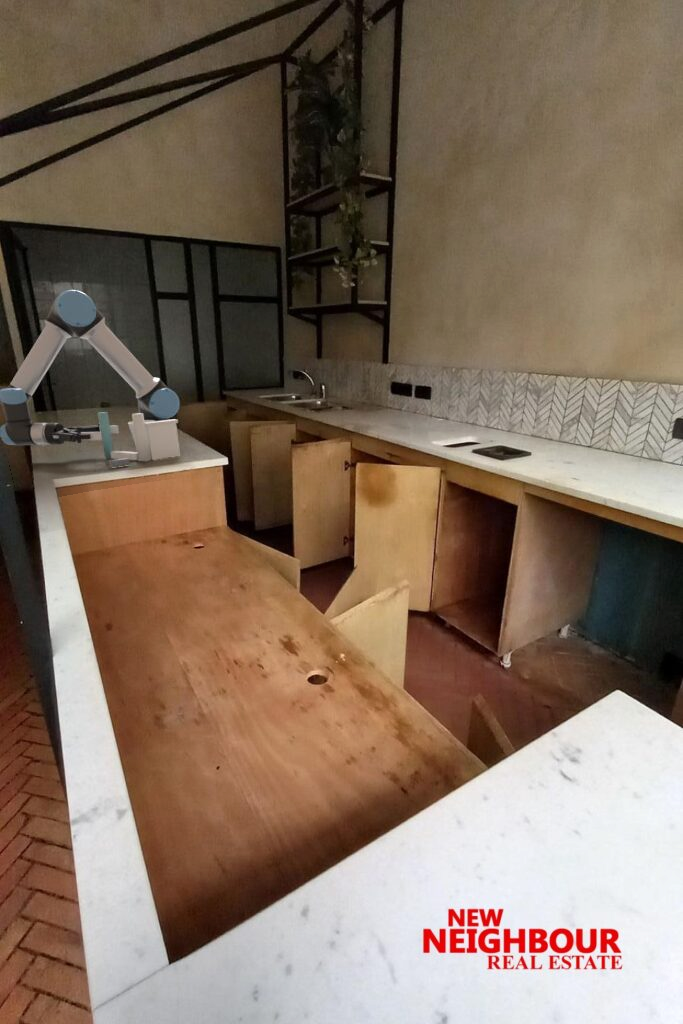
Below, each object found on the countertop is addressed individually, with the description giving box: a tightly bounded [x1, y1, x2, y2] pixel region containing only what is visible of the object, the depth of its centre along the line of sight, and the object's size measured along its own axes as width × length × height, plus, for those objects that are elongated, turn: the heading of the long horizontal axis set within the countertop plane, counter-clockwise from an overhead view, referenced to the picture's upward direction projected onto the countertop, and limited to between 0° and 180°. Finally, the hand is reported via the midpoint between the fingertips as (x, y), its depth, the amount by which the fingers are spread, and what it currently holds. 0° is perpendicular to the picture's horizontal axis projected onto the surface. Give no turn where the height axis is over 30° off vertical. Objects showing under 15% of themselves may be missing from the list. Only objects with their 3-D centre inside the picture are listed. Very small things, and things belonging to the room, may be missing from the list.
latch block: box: [108, 458, 131, 469], centre depth 165 cm, size 6×2×2 cm, turn 130°
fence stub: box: [145, 418, 181, 460], centre depth 175 cm, size 11×3×13 cm, turn 130°
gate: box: [97, 411, 151, 462], centre depth 172 cm, size 18×4×16 cm, turn 70°
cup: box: [127, 420, 154, 450], centre depth 188 cm, size 10×10×11 cm
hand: (109, 432), depth 174 cm, fingers open, 13 cm apart
